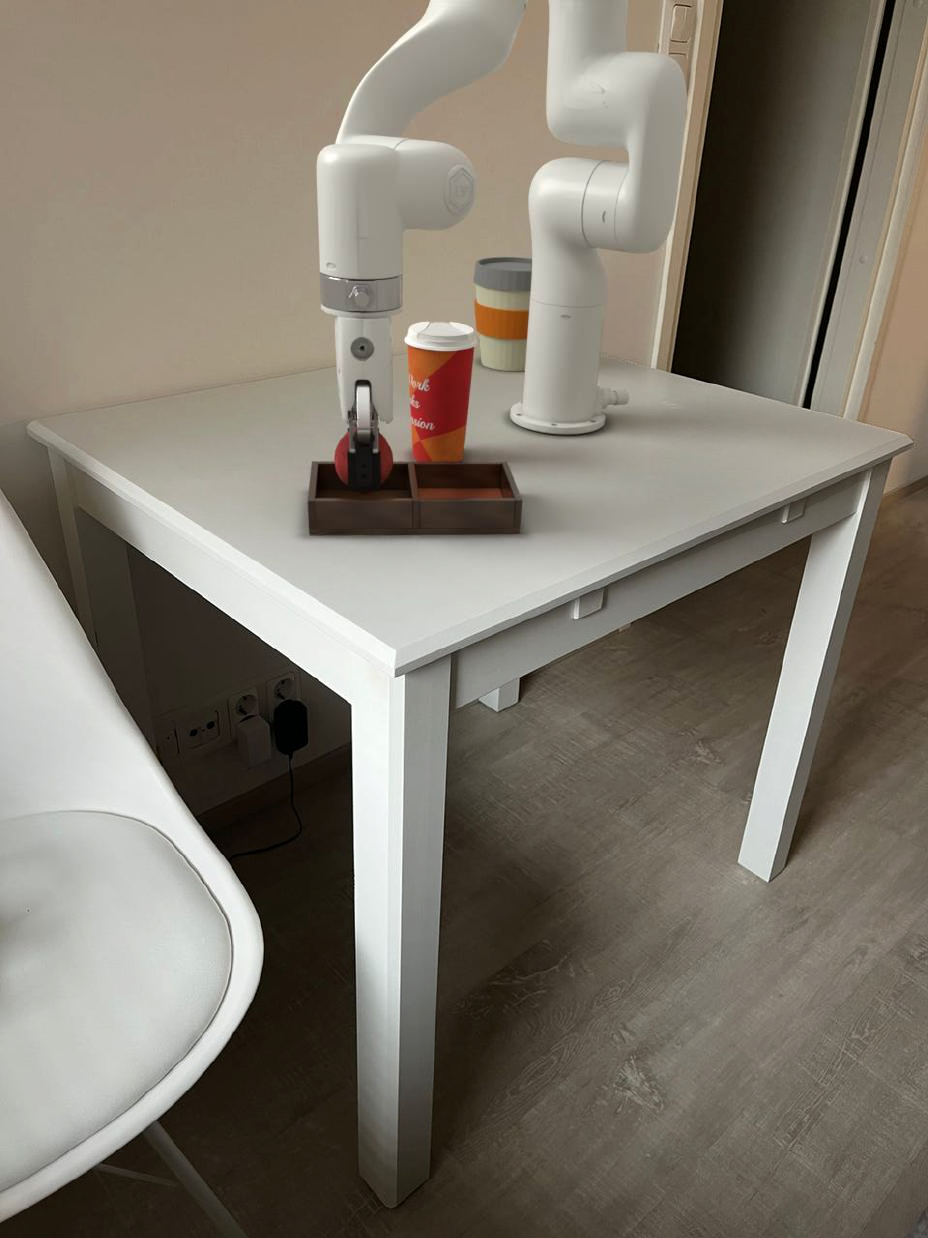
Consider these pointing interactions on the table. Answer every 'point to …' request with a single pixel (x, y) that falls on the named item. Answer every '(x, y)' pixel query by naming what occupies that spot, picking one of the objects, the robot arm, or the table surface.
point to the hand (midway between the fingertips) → (364, 475)
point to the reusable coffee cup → (503, 310)
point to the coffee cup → (439, 388)
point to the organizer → (418, 500)
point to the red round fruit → (345, 446)
